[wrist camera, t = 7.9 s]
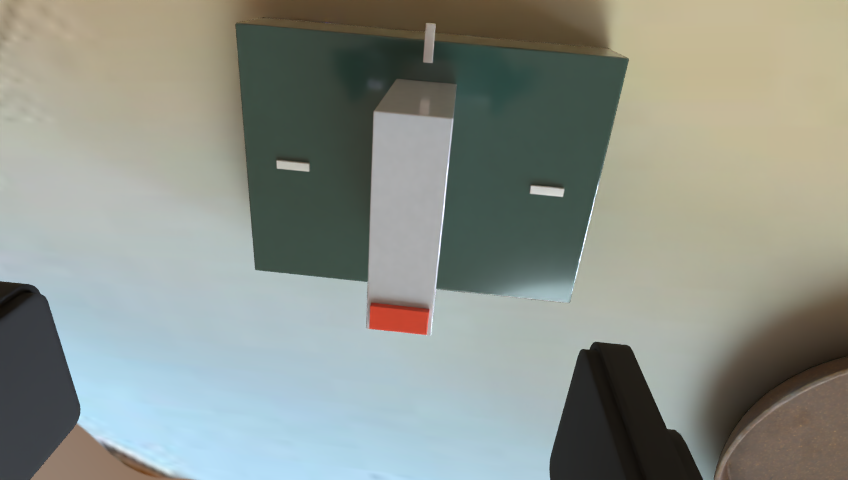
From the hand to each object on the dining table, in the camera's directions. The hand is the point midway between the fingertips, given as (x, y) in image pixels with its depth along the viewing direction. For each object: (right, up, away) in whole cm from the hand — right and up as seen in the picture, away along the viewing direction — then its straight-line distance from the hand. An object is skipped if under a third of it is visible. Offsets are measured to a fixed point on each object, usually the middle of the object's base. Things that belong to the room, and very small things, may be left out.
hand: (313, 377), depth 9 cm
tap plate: (+2, +6, +16) cm, 17 cm away
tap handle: (+2, +5, +13) cm, 14 cm away
